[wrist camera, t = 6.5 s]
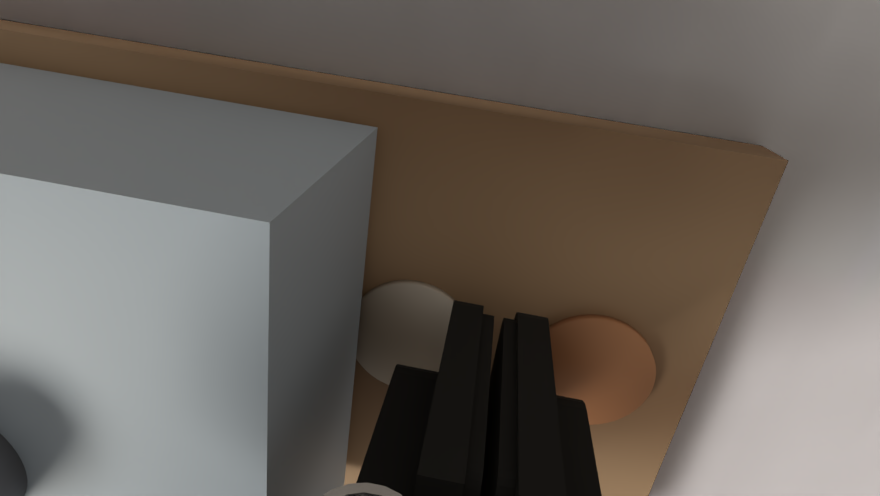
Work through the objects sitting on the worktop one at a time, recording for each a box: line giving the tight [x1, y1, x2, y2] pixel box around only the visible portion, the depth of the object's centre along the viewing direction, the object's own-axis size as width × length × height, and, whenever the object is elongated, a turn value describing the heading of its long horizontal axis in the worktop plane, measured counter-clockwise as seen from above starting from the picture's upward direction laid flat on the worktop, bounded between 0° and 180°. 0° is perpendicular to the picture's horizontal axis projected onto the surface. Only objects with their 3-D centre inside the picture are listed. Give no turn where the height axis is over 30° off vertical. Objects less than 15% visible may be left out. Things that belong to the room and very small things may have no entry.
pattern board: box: [0, 19, 788, 496], centre depth 11 cm, size 9×15×1 cm, turn 82°
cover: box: [0, 63, 378, 496], centre depth 8 cm, size 8×8×5 cm
